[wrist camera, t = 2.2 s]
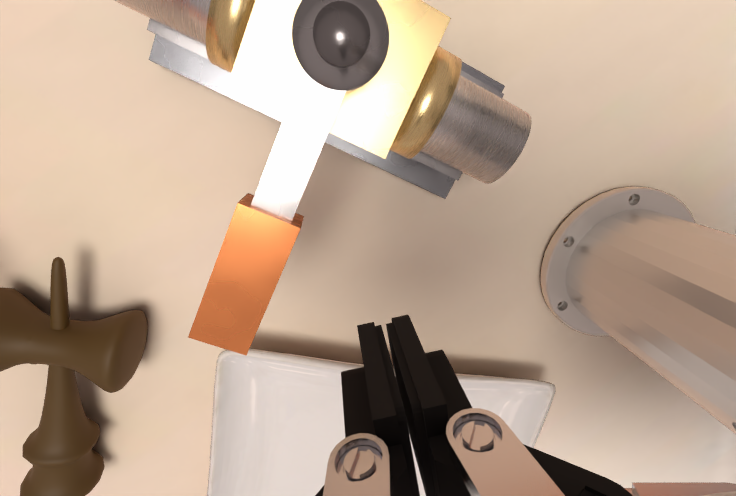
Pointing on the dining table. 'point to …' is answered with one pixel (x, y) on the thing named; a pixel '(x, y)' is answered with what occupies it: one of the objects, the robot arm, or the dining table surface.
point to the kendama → (67, 381)
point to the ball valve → (359, 107)
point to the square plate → (318, 419)
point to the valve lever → (289, 166)
